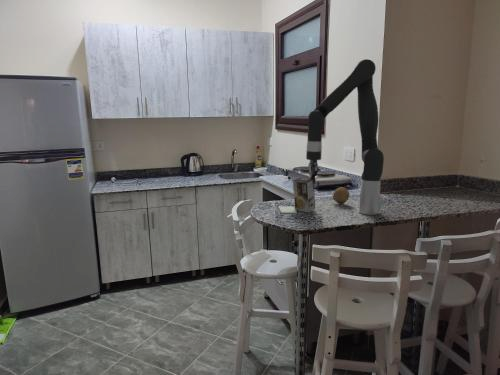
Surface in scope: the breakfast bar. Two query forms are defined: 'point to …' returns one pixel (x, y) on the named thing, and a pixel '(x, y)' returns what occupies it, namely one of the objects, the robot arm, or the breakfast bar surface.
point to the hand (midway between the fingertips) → (312, 183)
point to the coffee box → (304, 194)
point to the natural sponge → (341, 195)
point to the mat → (287, 209)
